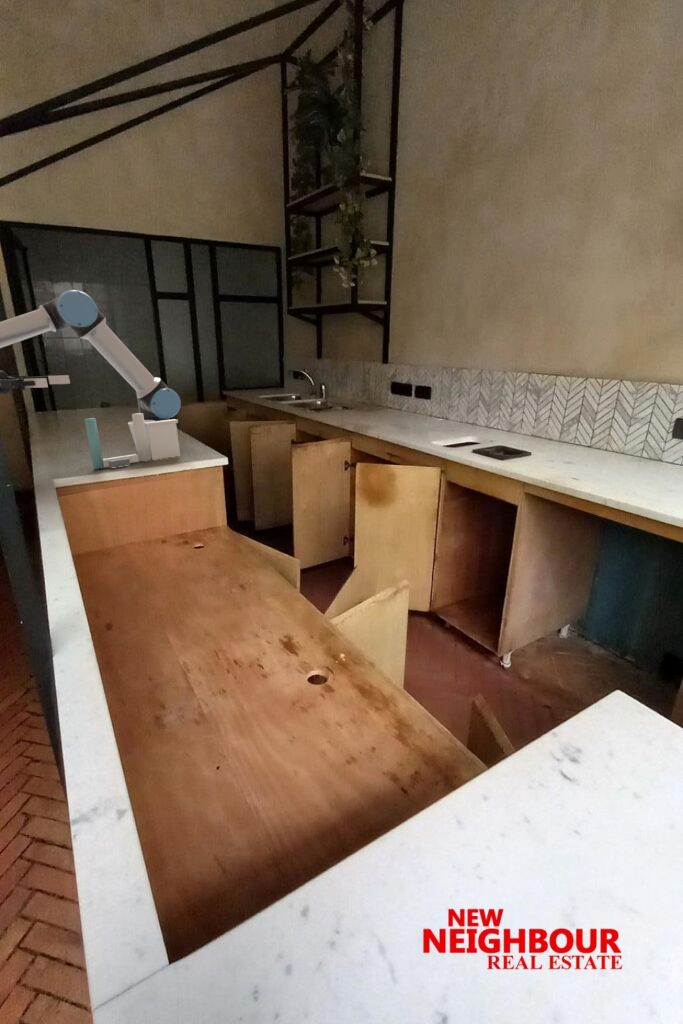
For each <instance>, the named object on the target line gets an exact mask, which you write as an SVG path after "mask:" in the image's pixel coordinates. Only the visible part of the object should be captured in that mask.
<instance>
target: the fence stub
mask: <svg viewBox="0 0 683 1024" xmlns="http://www.w3.org/2000/svg"><path fill="white" fill-rule="evenodd" d="M178 423H179V419H175V418H174V419H169V420H163V421H154V422H145V426H146V431H147V438H148V445H149V457H150V460H151V459H158V458H166V459H168V458H167V457H172V458H176V457H175V456H178V457H181V452H180V451H181V450H180V444H179V435H178V427H177V424H178Z"/></svg>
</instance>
